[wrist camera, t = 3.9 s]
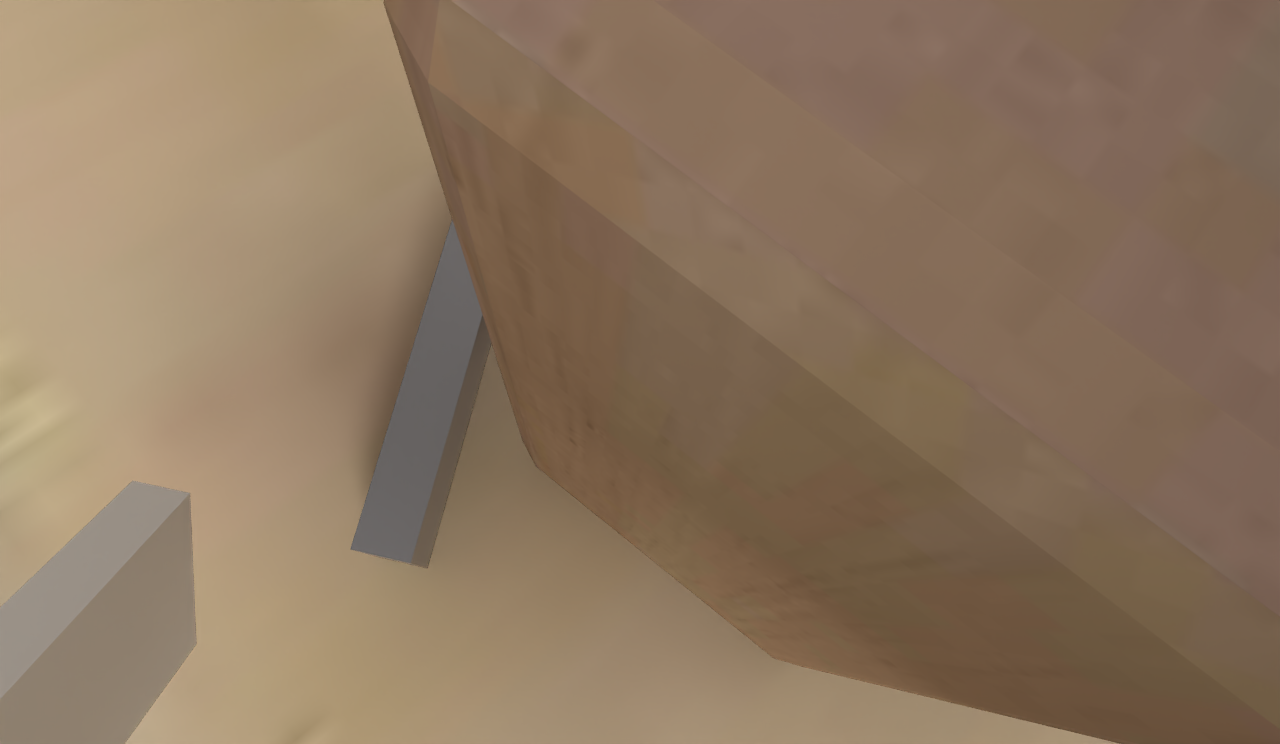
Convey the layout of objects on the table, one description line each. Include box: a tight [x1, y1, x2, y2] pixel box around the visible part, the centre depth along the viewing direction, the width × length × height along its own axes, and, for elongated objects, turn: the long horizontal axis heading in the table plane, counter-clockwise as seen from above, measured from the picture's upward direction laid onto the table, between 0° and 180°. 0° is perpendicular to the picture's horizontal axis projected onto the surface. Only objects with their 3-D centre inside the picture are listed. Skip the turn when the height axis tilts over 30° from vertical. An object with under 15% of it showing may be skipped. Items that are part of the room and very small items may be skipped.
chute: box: [351, 220, 491, 568], centre depth 24 cm, size 12×19×2 cm, turn 77°
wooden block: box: [384, 0, 1280, 744], centre depth 16 cm, size 10×10×20 cm
